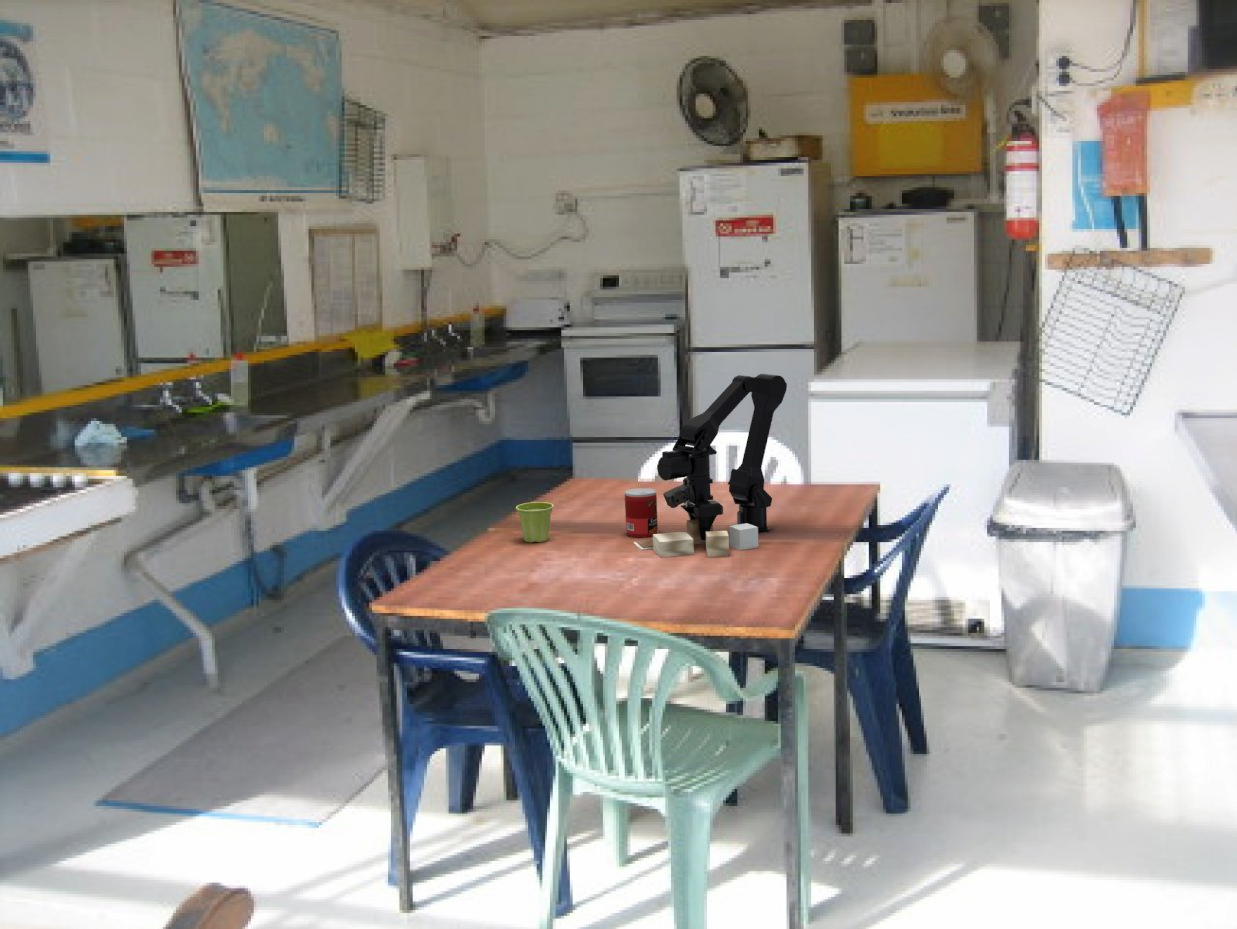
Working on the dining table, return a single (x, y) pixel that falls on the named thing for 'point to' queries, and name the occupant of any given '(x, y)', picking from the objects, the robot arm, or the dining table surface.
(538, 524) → the plant pot
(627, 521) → the canned food
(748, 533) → the grey block
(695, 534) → the walnut block
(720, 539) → the maple block
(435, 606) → the dining table surface
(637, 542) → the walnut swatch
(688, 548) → the cream square block
